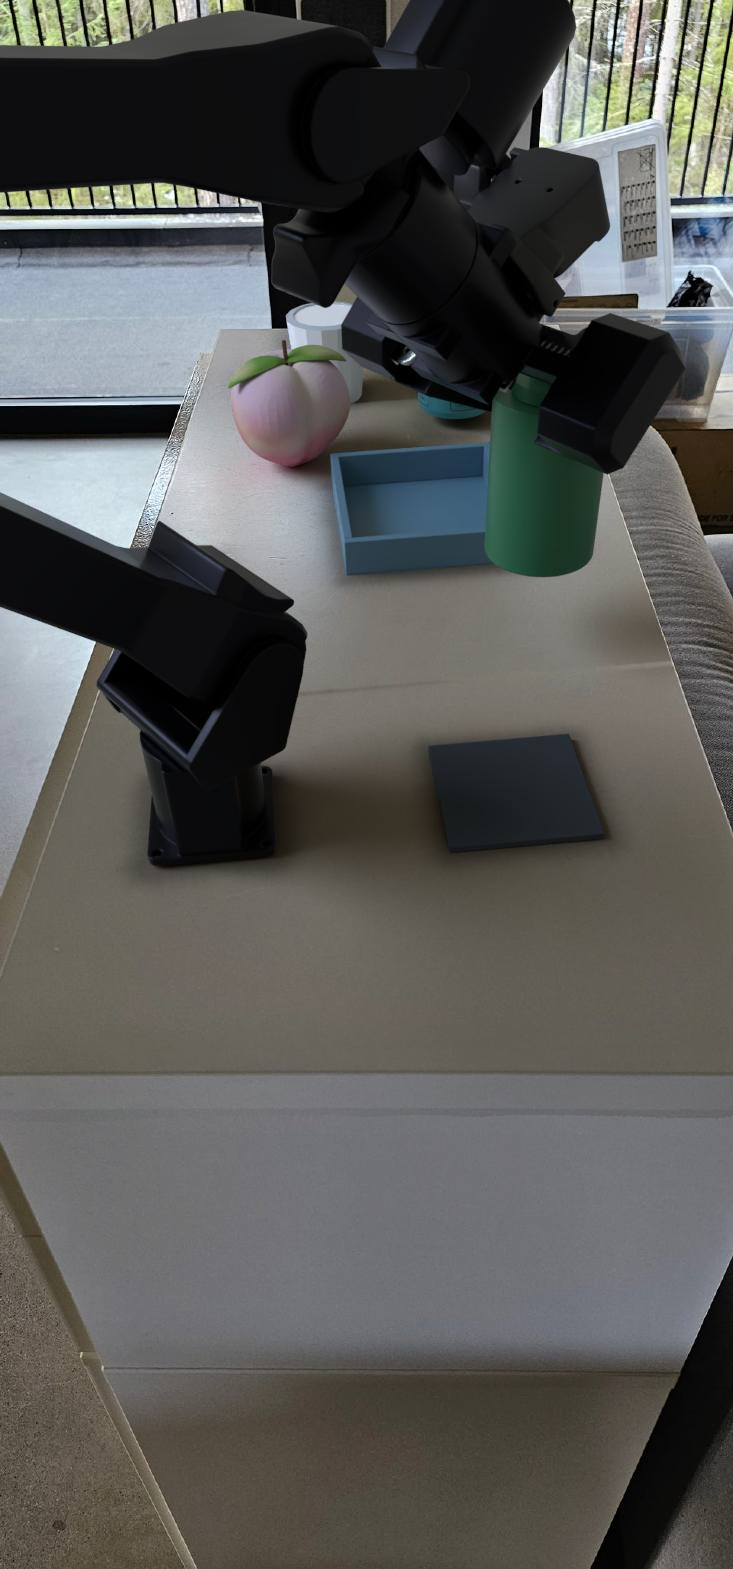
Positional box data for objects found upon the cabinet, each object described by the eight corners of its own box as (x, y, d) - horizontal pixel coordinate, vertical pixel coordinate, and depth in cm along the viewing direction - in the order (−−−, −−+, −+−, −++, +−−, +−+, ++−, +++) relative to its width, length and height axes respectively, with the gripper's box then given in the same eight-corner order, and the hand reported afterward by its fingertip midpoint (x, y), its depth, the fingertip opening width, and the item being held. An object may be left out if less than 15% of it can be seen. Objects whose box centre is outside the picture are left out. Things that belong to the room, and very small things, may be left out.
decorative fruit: (315, 431, 92) (307, 309, 85) (369, 467, 87) (365, 340, 80) (216, 462, 89) (199, 337, 82) (265, 502, 83) (252, 372, 77)
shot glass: (283, 385, 99) (276, 306, 95) (355, 374, 101) (352, 295, 96) (302, 416, 94) (297, 334, 90) (378, 404, 96) (376, 322, 91)
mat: (604, 838, 56) (605, 833, 56) (449, 853, 56) (449, 847, 56) (568, 738, 62) (569, 733, 62) (428, 750, 62) (428, 745, 61)
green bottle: (577, 586, 62) (602, 375, 54) (469, 565, 64) (478, 358, 56) (605, 532, 66) (632, 330, 58) (503, 514, 68) (516, 316, 60)
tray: (522, 566, 76) (525, 528, 74) (346, 580, 75) (344, 542, 73) (488, 477, 85) (490, 441, 83) (332, 488, 85) (330, 453, 83)
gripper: (698, 128, 42) (796, 344, 54) (378, 66, 53) (522, 258, 65) (538, 389, 43) (670, 540, 56) (260, 278, 54) (423, 425, 67)
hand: (566, 429), depth 61 cm, fingers closed on green bottle, 6 cm apart
